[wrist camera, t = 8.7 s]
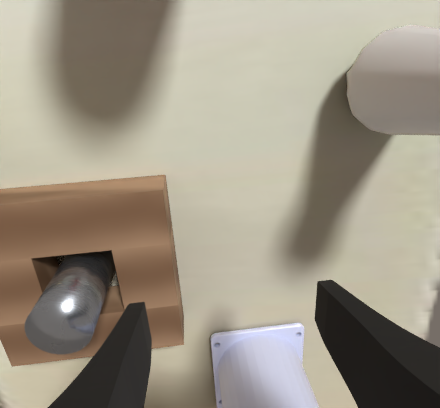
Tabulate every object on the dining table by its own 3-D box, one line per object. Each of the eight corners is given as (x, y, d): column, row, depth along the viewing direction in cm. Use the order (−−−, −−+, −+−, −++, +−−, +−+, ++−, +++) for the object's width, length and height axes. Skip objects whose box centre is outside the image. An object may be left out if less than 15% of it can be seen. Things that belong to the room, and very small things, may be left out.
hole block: (183, 315, 26) (183, 344, 23) (30, 334, 25) (11, 366, 23) (165, 174, 22) (162, 190, 19) (-24, 191, 21) (-55, 210, 18)
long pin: (119, 277, 24) (97, 351, 18) (72, 280, 24) (32, 357, 17) (114, 237, 23) (87, 301, 16) (64, 239, 23) (17, 306, 16)
